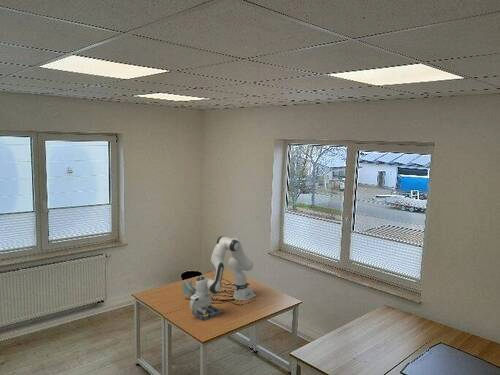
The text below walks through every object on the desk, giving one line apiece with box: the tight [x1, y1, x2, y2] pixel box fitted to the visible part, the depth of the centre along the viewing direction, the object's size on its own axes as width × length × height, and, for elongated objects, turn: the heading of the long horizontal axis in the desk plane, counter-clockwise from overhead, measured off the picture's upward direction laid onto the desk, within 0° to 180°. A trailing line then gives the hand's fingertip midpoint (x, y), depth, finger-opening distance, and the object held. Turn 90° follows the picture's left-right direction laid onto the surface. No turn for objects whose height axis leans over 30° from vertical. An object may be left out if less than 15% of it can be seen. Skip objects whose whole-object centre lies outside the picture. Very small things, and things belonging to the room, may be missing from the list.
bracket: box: [181, 280, 209, 297], centre depth 362 cm, size 28×7×20 cm, turn 67°
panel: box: [196, 306, 206, 316], centre depth 333 cm, size 2×12×7 cm, turn 39°
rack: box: [191, 304, 222, 322], centre depth 337 cm, size 19×17×4 cm
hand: (201, 311), depth 333 cm, fingers open, 8 cm apart
